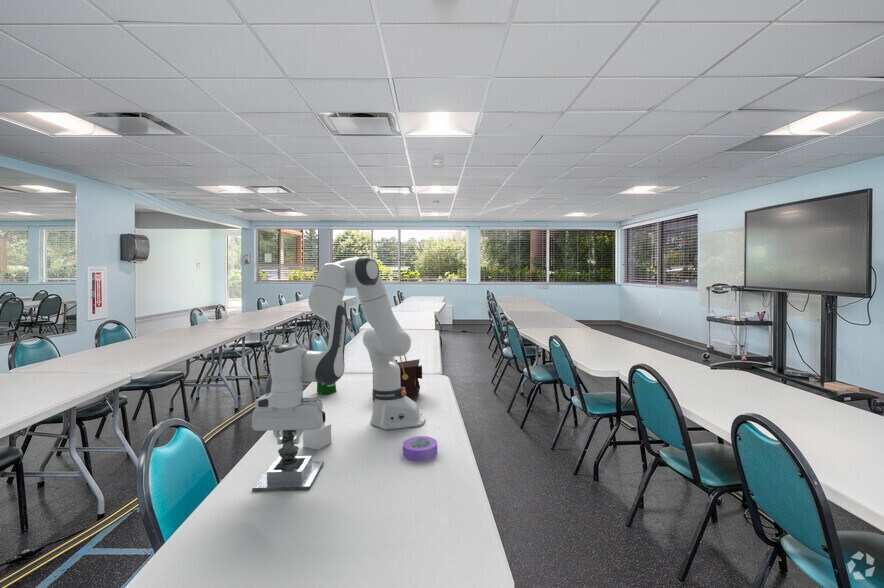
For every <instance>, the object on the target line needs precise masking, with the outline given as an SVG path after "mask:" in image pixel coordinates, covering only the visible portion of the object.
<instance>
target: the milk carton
mask: <svg viewBox="0 0 884 588" xmlns="http://www.w3.org/2000/svg"><path fill="white" fill-rule="evenodd" d="M336 383H337V382H335V383H334V384H331V385H328V384H323V383H319V382H316V393H317V392H318V393H317V394H320V393H322V394H321V395H325V394H326V395H330V394H333V393H336V392H337V385H336Z"/></svg>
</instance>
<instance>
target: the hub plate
mask: <svg viewBox="0 0 884 588" xmlns="http://www.w3.org/2000/svg"><path fill="white" fill-rule="evenodd" d="M295 457H296V458H298V461H297V462H296V463H294V464H291V465H281V464H280V463H279V462H280V460H282V458H281V457H280V456H278V457H277V459H276V460H275V461H273V462H272V463H271V465H270V466H269V467H268V468H267V469H266V471H265V472H264V473H263V474H262V475H261V476H260V477H259V479H258V480H257V481H256V483H255V484H254V485H253V486H252V488H251V490H252V492H275V491H276V492H277V491H278V492H279V491H283V492H284V491H307V490H308V491H309V490H310V489H311V488H312V485H313V484H314V482H315V480H316V479H317V477H318V476H319V473H320V471H321V470H322V468H323V466H324V464H325V462H324V460H313V459H312V455H302V456H301V455H299V456H297V455H296V456H295Z"/></svg>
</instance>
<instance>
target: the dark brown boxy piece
mask: <svg viewBox="0 0 884 588" xmlns="http://www.w3.org/2000/svg"><path fill="white" fill-rule="evenodd" d="M403 357H404V360H405V361H403V360H402V356H399V359H400V361H398V360H397V359H395V361H396V363H397V364H398V366H399V368H400V386H401V387H403V388H404V387H405V390H406V395H405V396H407V397H419V393H420V390H421V389H420V388H421V385H420V381H419V379H421V380H422V379H423V365H422V364H421V365H420V359H412V360H408V359H407V357H406V354H405V355H403ZM373 387H374V384H373V383H372V388H373Z"/></svg>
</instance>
